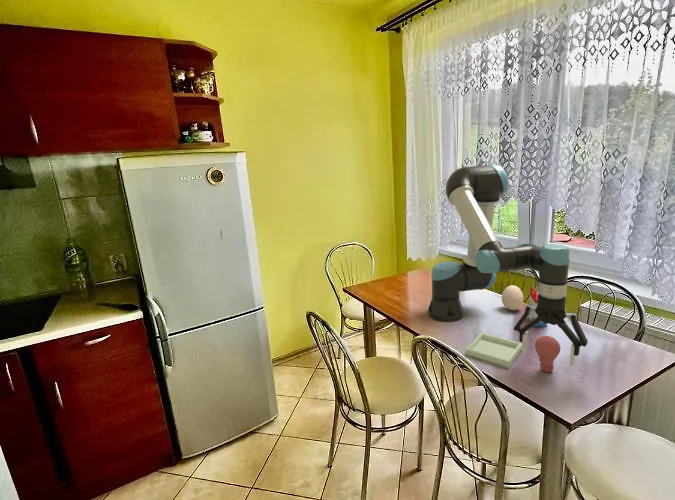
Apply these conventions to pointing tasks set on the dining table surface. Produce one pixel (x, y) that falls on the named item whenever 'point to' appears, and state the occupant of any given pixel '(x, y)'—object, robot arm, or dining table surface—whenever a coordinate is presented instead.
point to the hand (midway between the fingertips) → (547, 357)
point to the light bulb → (547, 352)
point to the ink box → (533, 302)
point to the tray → (494, 350)
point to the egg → (512, 297)
